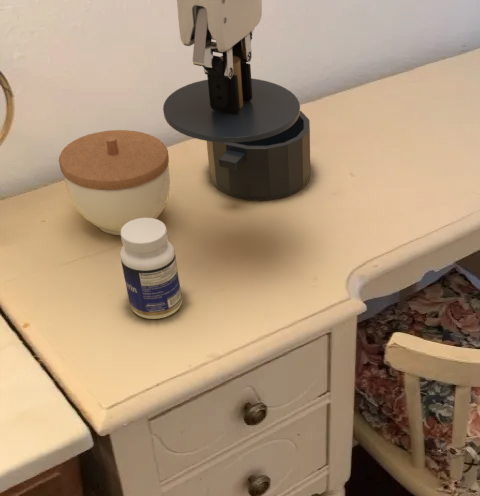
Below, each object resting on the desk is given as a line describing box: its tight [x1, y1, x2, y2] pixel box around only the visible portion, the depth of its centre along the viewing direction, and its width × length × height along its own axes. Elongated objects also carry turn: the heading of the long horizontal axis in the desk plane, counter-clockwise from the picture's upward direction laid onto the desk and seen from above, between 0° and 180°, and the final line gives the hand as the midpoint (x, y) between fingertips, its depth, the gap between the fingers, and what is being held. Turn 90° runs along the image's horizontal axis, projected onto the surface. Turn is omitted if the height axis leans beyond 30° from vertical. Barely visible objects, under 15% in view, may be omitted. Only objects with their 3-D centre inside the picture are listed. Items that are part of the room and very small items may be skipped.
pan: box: [206, 110, 311, 201], centre depth 113 cm, size 14×19×8 cm
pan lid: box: [162, 55, 301, 143], centre depth 89 cm, size 15×15×6 cm
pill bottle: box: [119, 218, 183, 320], centre depth 90 cm, size 6×6×10 cm
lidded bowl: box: [58, 129, 171, 236], centre depth 102 cm, size 13×13×11 cm
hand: (231, 103), depth 90 cm, fingers closed on pan lid, 2 cm apart
